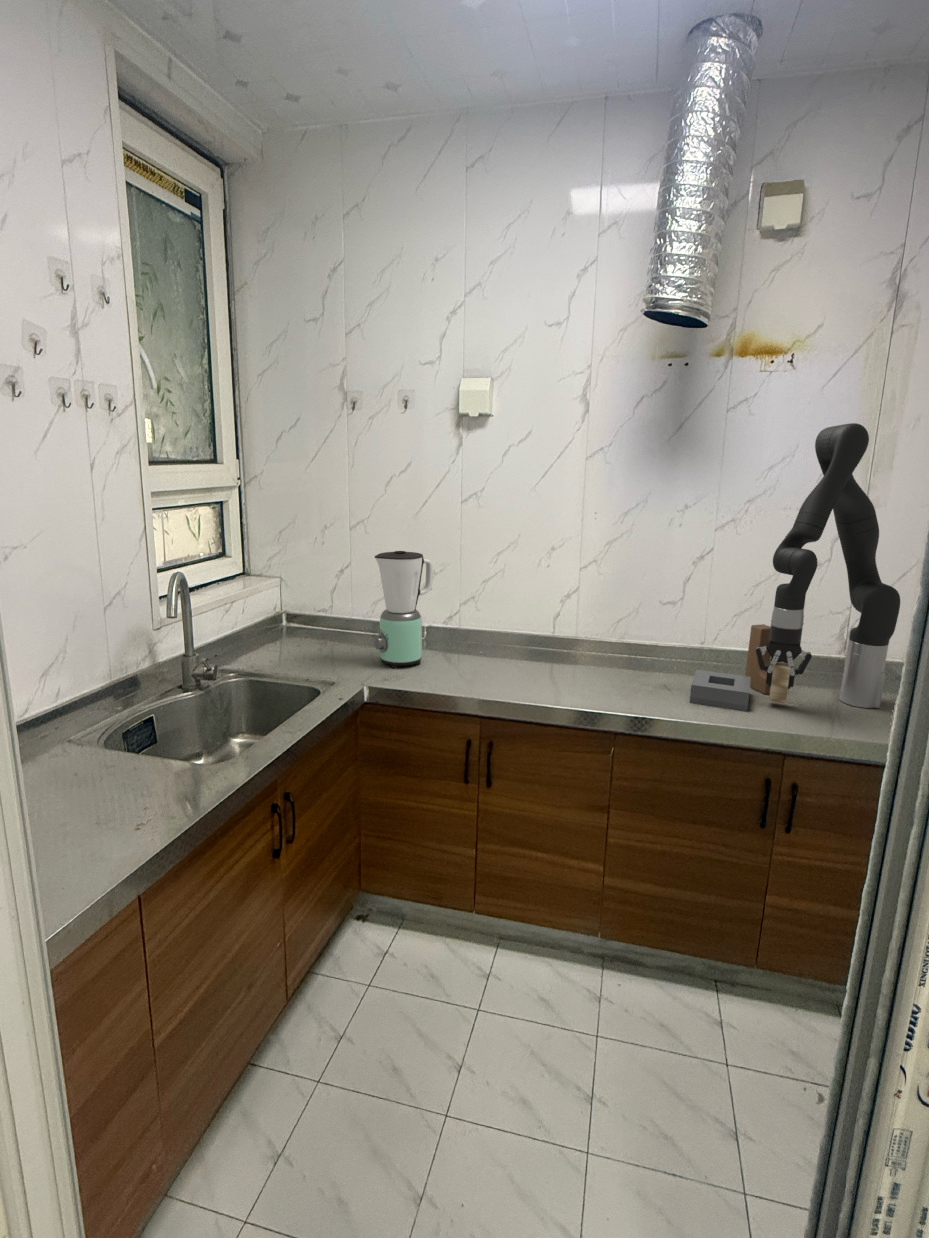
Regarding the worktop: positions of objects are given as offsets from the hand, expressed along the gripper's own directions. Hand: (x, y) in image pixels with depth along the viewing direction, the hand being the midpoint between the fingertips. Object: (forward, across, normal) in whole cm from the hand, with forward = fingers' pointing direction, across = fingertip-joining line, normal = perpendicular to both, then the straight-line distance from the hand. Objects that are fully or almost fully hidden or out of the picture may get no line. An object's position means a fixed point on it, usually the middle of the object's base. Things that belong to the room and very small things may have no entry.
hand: (778, 686), depth 181 cm
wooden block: (+6, +4, -13) cm, 15 cm away
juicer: (+5, +107, +10) cm, 108 cm away
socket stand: (+5, +14, 0) cm, 15 cm away
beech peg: (+4, 0, 0) cm, 4 cm away
